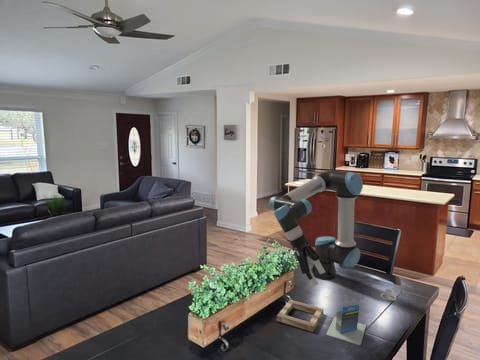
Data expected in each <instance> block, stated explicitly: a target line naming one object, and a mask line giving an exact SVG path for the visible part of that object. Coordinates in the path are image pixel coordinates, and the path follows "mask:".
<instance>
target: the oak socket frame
mask: <svg viewBox="0 0 480 360" xmlns="http://www.w3.org/2000/svg"><path fill="white" fill-rule="evenodd" d="M292 309H295V310H299V311H302V312H306V313H309V314H313V316H311V319H310V321H307V320H303V319H300V318H296V317H293V316H290V315H289V313H290V312H291V311H292ZM324 309H325V308H322V307H318V306H314V305H310V304H307V303H303V302H299V301H296V300H292V299H289V300H288V301H287V302H286V304H285V305H284V306H283V307H282V309H281V310H280V311H279V312H278V314H277V315H276V321H277V322H278V323H279V322H280V323H281V324H282V323H283V324H286V325H289V326H291V327H296V328H299V329H303V330H306V331H309V332H312V333H313V332H314V331H315V329H316V327H317V325H318V324H319V322H320V320H321V319H322V316H323V314H324Z"/></svg>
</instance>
